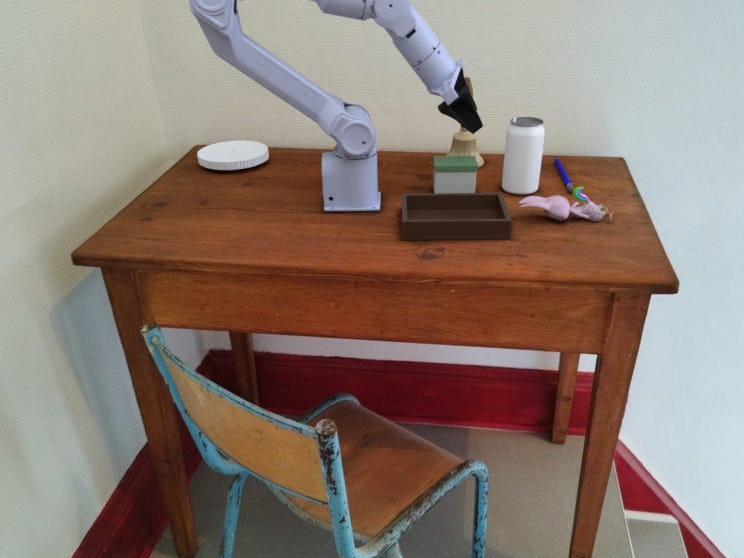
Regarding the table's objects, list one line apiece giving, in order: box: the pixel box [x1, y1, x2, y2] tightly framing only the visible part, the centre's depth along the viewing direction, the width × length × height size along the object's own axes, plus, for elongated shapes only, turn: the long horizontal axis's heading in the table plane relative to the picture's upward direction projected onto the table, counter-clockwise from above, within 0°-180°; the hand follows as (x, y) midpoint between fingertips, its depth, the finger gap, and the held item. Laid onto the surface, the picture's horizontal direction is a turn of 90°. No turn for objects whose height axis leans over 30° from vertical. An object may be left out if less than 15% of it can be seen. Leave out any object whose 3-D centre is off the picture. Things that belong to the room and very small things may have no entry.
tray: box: [401, 192, 512, 241], centre depth 106 cm, size 17×12×3 cm
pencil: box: [554, 158, 575, 193], centre depth 123 cm, size 17×1×1 cm, turn 177°
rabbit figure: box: [518, 186, 614, 223], centre depth 106 cm, size 6×6×15 cm
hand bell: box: [445, 76, 485, 168], centre depth 127 cm, size 8×8×16 cm
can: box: [501, 116, 546, 196], centre depth 115 cm, size 6×6×12 cm
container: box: [432, 155, 479, 193], centre depth 116 cm, size 7×5×6 cm
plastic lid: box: [196, 139, 270, 171], centre depth 133 cm, size 14×14×2 cm
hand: (475, 120), depth 109 cm, fingers open, 7 cm apart
